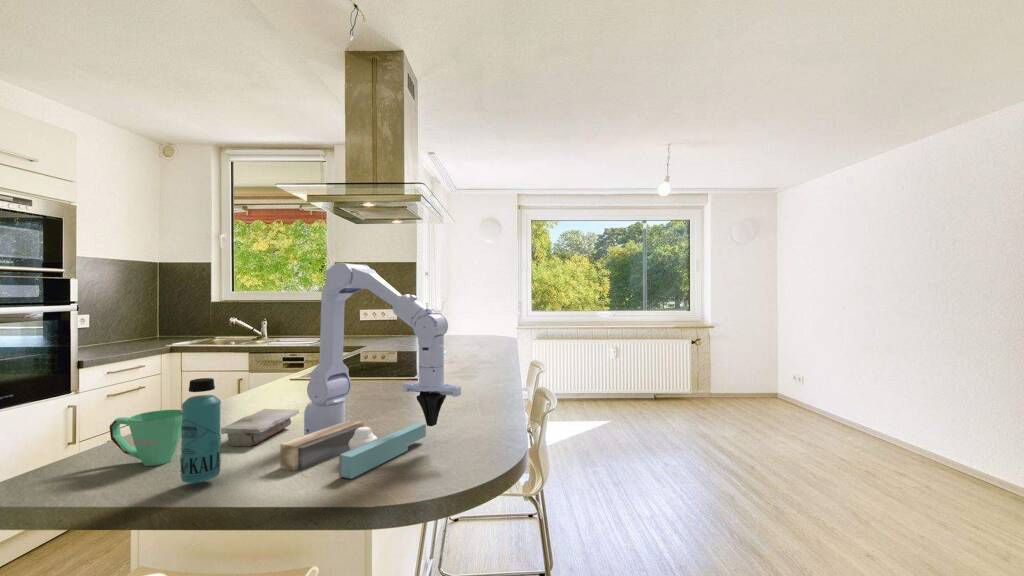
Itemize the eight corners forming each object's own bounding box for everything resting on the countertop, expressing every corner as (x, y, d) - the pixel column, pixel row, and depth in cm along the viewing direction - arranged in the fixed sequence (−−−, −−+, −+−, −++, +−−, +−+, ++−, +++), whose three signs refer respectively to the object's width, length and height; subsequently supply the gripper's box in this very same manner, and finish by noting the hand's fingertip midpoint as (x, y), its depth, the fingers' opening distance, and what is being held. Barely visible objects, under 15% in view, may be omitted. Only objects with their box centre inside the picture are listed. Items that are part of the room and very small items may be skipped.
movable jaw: (339, 476, 94) (339, 454, 94) (415, 439, 117) (415, 422, 117) (351, 478, 92) (351, 456, 92) (425, 441, 115) (425, 424, 115)
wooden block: (280, 468, 99) (280, 443, 99) (349, 440, 117) (349, 420, 117) (298, 472, 97) (298, 447, 97) (366, 443, 115) (366, 422, 115)
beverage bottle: (192, 478, 94) (192, 375, 94) (228, 477, 94) (228, 375, 94) (171, 492, 87) (172, 382, 87) (210, 491, 88) (210, 381, 88)
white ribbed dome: (349, 465, 100) (348, 431, 101) (348, 456, 106) (347, 424, 106) (380, 460, 103) (379, 427, 103) (377, 452, 108) (376, 421, 108)
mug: (195, 453, 108) (195, 409, 108) (165, 470, 98) (165, 421, 98) (128, 454, 107) (128, 409, 108) (91, 471, 98) (91, 421, 98)
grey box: (218, 448, 112) (259, 449, 112) (218, 427, 112) (259, 428, 112) (264, 425, 130) (300, 426, 130) (264, 407, 130) (299, 408, 130)
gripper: (394, 366, 110) (395, 426, 110) (449, 370, 104) (449, 433, 104) (413, 362, 116) (413, 418, 116) (465, 365, 110) (465, 424, 110)
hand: (431, 425), depth 110 cm, fingers closed
